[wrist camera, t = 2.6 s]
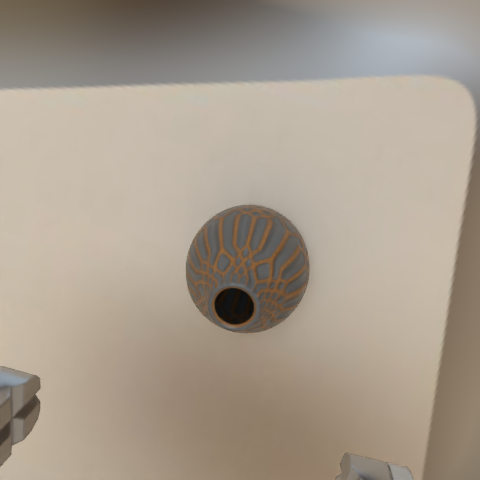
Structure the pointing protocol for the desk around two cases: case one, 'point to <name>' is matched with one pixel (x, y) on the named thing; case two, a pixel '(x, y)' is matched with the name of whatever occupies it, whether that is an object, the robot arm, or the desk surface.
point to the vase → (247, 269)
